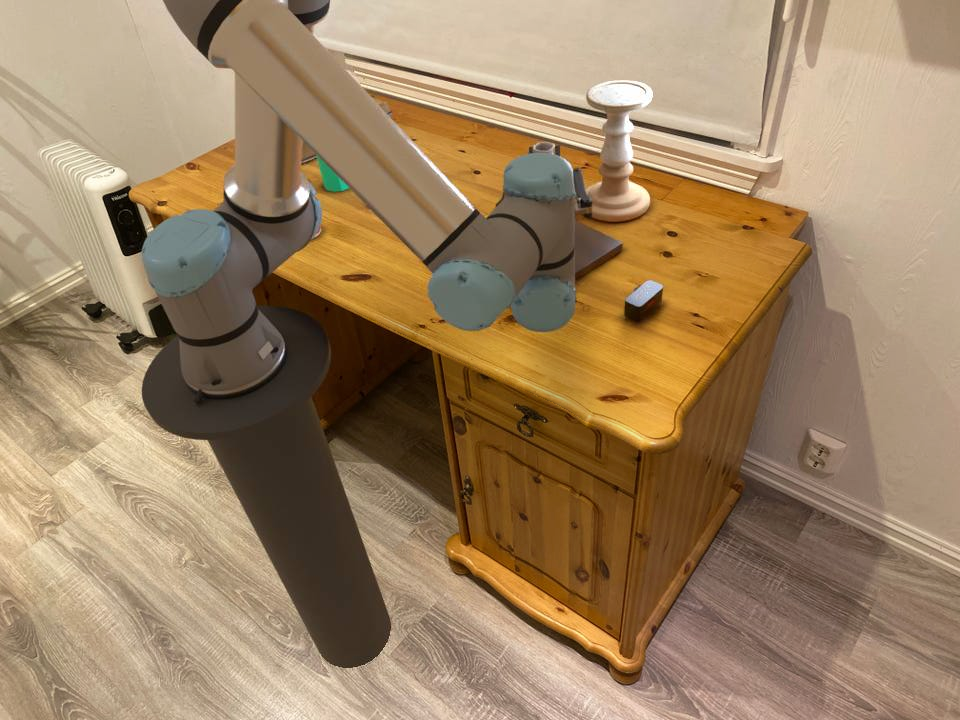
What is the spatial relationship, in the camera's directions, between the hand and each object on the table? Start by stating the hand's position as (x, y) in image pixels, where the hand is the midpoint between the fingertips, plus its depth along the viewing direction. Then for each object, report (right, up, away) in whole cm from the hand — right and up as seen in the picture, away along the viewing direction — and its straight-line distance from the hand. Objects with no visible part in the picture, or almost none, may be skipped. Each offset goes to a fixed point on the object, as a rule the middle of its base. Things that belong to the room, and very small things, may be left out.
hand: (544, 154), depth 109 cm
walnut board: (+1, -15, +7) cm, 17 cm away
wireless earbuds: (+14, -24, -4) cm, 28 cm away
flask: (0, -8, 0) cm, 8 cm away
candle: (-38, +3, +32) cm, 50 cm away
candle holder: (+14, -4, +18) cm, 23 cm away
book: (-44, +19, +50) cm, 69 cm away
